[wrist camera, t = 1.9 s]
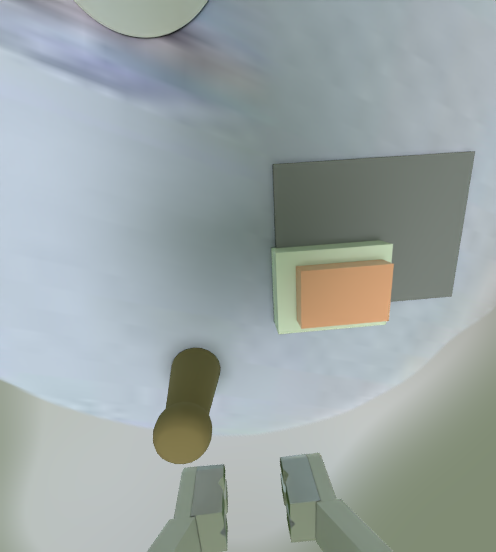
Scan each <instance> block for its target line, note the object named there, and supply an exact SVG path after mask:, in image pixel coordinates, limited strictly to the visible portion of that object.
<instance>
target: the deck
mask: <svg viewBox="0 0 496 552" xmlns="http://www.w3.org/2000/svg"><path fill="white" fill-rule="evenodd" d="M392 251H393V244H391V243H387V242H384V241H380V240H377V241H364V242H351V243H338V244H325V245H312V246H299V247H286V248H271V254H272V278H273V302H274V323H275V325H276V328H277V331H278V334H287V333H298V332H309V331H320V330H331V329H342V328H353V327H364V326H375V325H386V321H382V322H371V323H360V324H349V325H338V326H327V327H316V328H305V329H301V327H300V325H299V324H298V322H297V311H296V266H305V265H317V264H330V263H342V262H355V261H367V260H380V259H383V260H385V261H388V262H392Z"/></svg>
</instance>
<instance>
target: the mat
mask: <svg viewBox="0 0 496 552" xmlns="http://www.w3.org/2000/svg"><path fill="white" fill-rule="evenodd" d="M474 155H475V151H474V152H458V153H442V154H427V155H411V156H395V157H379V158H363V159H348V160H332V161H316V162H300V163H284V164H273V186H274V213H275V241H276V248H286V247H299V246H312V245H325V244H338V243H351V242H364V241H377V240H380V241H384V242H387V243H391V244H393V251H392V262H391V263H393V264H394V268H393V279H392V290H391V300H390V302H393V301H405V300H416V299H428V298H439V297H450V296H452V290H453V284H454V278H455V272H456V266H457V260H458V253H459V247H460V241H461V235H462V229H463V223H464V216H465V210H466V204H467V198H468V192H469V186H470V179H471V173H472V167H473V161H474Z"/></svg>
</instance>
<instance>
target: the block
mask: <svg viewBox="0 0 496 552" xmlns="http://www.w3.org/2000/svg"><path fill="white" fill-rule="evenodd" d="M393 268H394V264H393V263H391V262H388V261H385V260H383V259H380V260H367V261H355V262H342V263H330V264H317V265H305V266H296V311H297V322H298V324H299V325H300V327H301V329H305V328H316V327H327V326H338V325H349V324H360V323H371V322H382V321H389V311H390V300H391V290H392V279H393Z"/></svg>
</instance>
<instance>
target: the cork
mask: <svg viewBox="0 0 496 552" xmlns="http://www.w3.org/2000/svg"><path fill="white" fill-rule="evenodd" d="M219 375H220V364H219V361H218V359H217V358H216V356H215V355H214V354H212V353H211V352H210V351H208V350H205V349H202V348H190V349H186V350H184V351H182V352H180V353H179V354H178V355H177V356H176V357H175V358H174V361H173V363H172V367H171V374H170V381H169V389H168V396H167V403H166V409H165V410H164V411H163V412H162V413H161V415H160V416H159V418H158V420H157V422H156V424H155V427H154V430H153V443H154V446H155V449H156V451H157V453H158V454H159V455H160V457H161V458H162V459H164V460H166V461H168V462H171V463H174V464H186V463H190V462H193V461H195V460H197V459H198V458H199V457H201V456H202V455H203V454H204V452H205V451H206V450H207V448H208V446H209V443H210V441H211V437H212V423H211V420H210V416H209V412H210V408H211V405H212V401H213V397H214V394H215V390H216V386H217V383H218V379H219Z"/></svg>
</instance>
